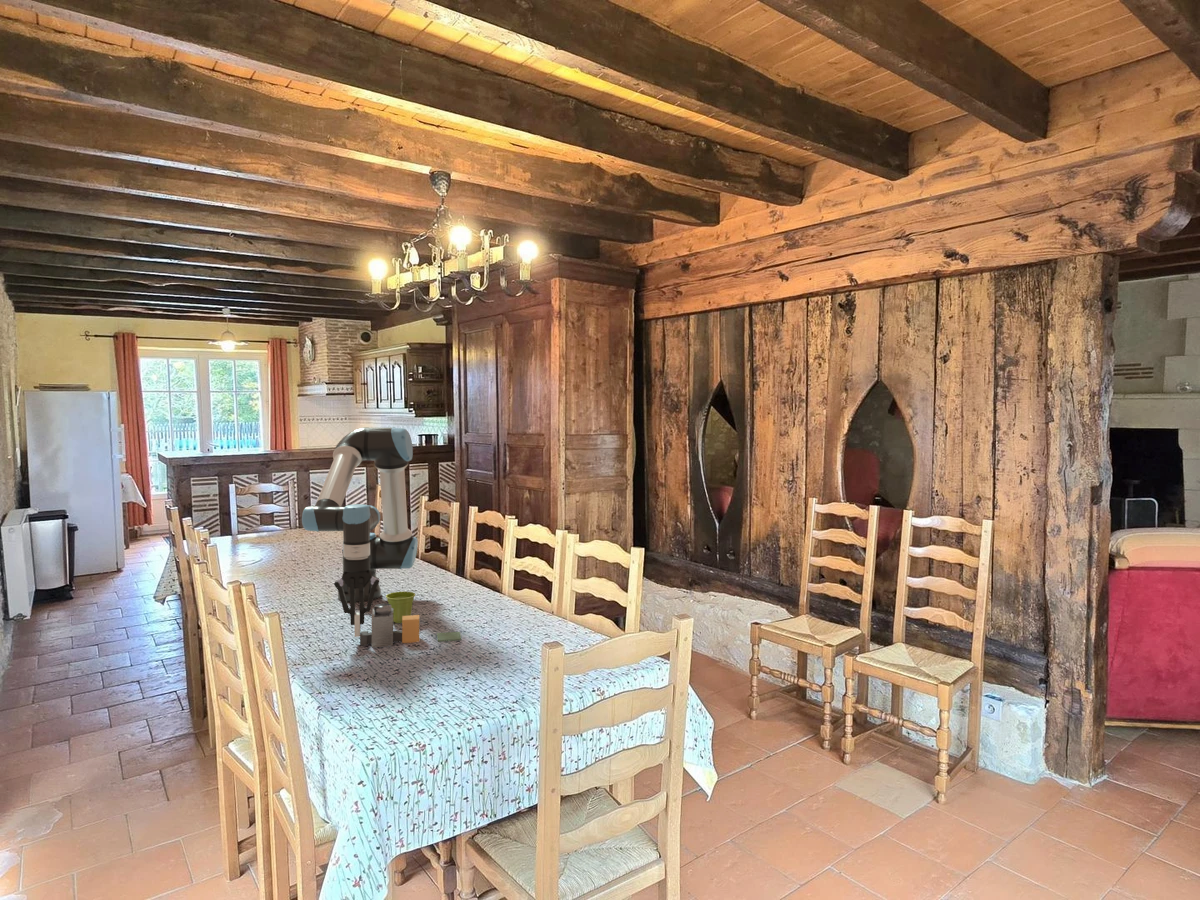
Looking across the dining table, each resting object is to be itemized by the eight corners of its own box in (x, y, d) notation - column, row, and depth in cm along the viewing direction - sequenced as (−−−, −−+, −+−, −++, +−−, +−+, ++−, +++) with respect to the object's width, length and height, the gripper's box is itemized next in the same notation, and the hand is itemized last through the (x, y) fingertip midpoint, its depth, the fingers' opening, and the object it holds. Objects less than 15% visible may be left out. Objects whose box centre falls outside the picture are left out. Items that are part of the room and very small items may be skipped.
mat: (436, 634, 220) (436, 633, 220) (459, 633, 222) (459, 631, 222) (437, 641, 214) (437, 640, 214) (461, 640, 215) (461, 638, 215)
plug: (361, 641, 213) (361, 618, 213) (419, 637, 218) (419, 614, 217) (360, 645, 209) (359, 622, 209) (419, 642, 213) (419, 619, 213)
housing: (373, 638, 216) (372, 602, 216) (393, 636, 218) (393, 601, 217) (371, 647, 208) (371, 610, 207) (392, 646, 209) (392, 609, 209)
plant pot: (385, 625, 229) (385, 599, 228) (386, 617, 238) (386, 592, 237) (415, 623, 231) (415, 597, 231) (415, 615, 240) (415, 590, 240)
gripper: (332, 560, 204) (333, 640, 206) (379, 558, 208) (380, 637, 209) (334, 555, 211) (335, 632, 213) (380, 553, 215) (380, 629, 216)
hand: (357, 635), depth 211 cm, fingers closed
